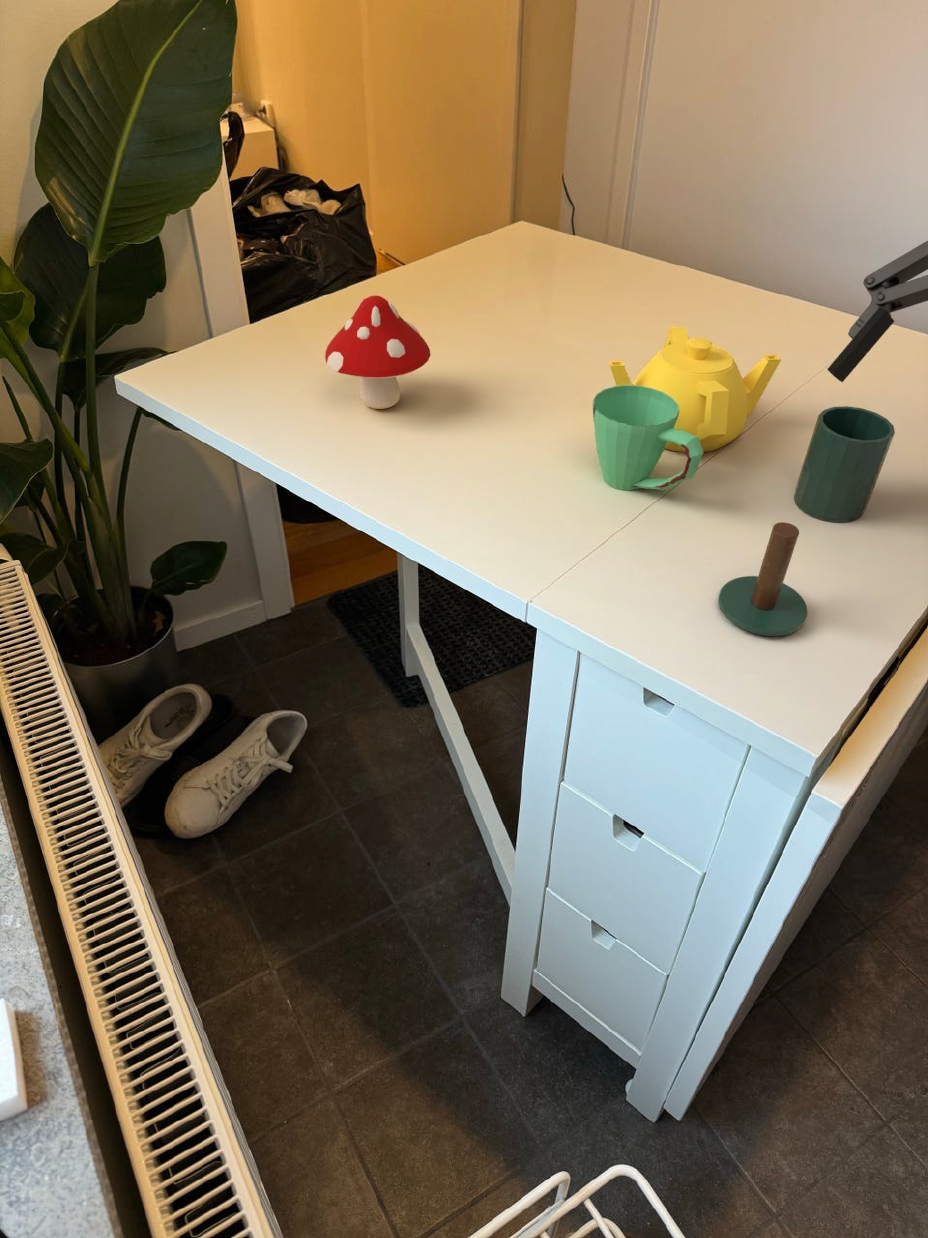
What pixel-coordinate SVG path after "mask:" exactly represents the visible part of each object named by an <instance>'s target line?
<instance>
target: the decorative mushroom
mask: <svg viewBox="0 0 928 1238" xmlns="http://www.w3.org/2000/svg"><path fill="white" fill-rule="evenodd" d="M324 353H325V355H324V359H325V360H324V361H325V364H326V366H327V368H328V369H329V370H330V371H333V372H335V373H339V374H342V375H347V376H352V377H356V378H361V383H360V386H359V398H360V399H359V400H360V402H361V403H363V404H364V405H365V406H367V407H369V408H372V409H377V410H383V409H389V408H391V407H393V406H395V405H396V404H397V403H398V402H399V401H400V399H401V389H400V385H399V382H398V379H397V377H401V376H404V375H408V374H410V373H413V372H415V371H416V370H418V369H420V368H422V367H423V366H424V365H426V363H428V361H429V359H430V358H431V349H430V347H429V345H428V343H427V342H426V340H425V339H424V338H423V337H422V336H421V334H420V332H419V330H418V329H417V327H415V325H413V324H412V323H411V322H409V321H407V320H404V318H403V317H402V316H401V315H400V313H399V311H398V309H397V308H396V306H394V304H393V303H391V302H389V300H387V299H386V298H385V297H383V296H381V295H370V296H368V297H366V298H364V299H362V301H361V302H360V303H359V305H357V308H356V309H355V311H354V313H353V315H352V316H351V318H350V319H348V320H347V321H346V322H345V324H344V325H343V327H342V328H341V329H339V330H338V332H337V333H336V334H335V335H334V337H333V338H332V339H331V340H330V342H329V344H328V345H327V346H326V350H325V352H324Z"/></svg>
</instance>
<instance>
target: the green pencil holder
mask: <svg viewBox="0 0 928 1238" xmlns="http://www.w3.org/2000/svg"><path fill="white" fill-rule="evenodd" d="M895 431H896V430H895V425H893V424H892V422H891V421H890V420H889V419H888V418H887V417H884V416H883V415H881V414H879V413H877V412H875V411H872V410H868V409H866V408H861V407H856V406H848V405H845V406H844V405H843V406H832V407H829V408H826V409H825V408H824V409H823V410H822V411H821V412H820V413H819V414H818V415H817V418H816V422H815V424H814V428H813V432H812V434H811V438H810V441H809V444H808V447H807V451H806V454H805V457H804V460H803V463H802V467H801V470H800V473H799V475H798V479H797V481H796V482H797V483H796V486H795V489H794V495H793V500H794V503H795V505H796V506H797V507H798V509H799V510H801V511H802V512H803V513H805V514H806V515H808V516H810V517H812V518H815V519H817V520H819V521H823V522H829V523H834V524H835V523H838V524H844V523H851V522H854V521H857V520H859V519H861V518H862V516H863V515H865V511H866V510H867V508H868V506H869V502H870V500H871V497H872V495H873V492H874V489H875V487H876V484H877V482H878V481H877V480H878V479H879V476H880V473H881V471H882V468H883V465H884V463H885V460H886V458H887V455H888V453H889V449H890V447H891V444H892V442H893V439H894V436H895V433H896V432H895Z"/></svg>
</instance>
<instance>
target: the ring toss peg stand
mask: <svg viewBox="0 0 928 1238" xmlns="http://www.w3.org/2000/svg"><path fill="white" fill-rule="evenodd" d="M799 535H800V529H799V528H798V527H797V526H796V525H794V524H792V523H789V522H785V521H784V522H783V521H782V522H777V523H775V524H774V525H772V529H771V532H770V536H769V539H768V542H767V545H766V548H765V551H764V552H765V553H764V556H763V559H762V562H761V566H760V569H759V571H758V575H747V576H746V575H745V576H740V577H735V578H733V579H731V580H729V581H728V582H726V583H725V584H724V585H723V586H722V588H721V589H720V591H719V595H718V599H717V600H718V606H719V609H720V611H721V613H722V614H723V615H724V616H725V618H726V619H727V620H728V621H729V622H731V623H732V624H734V625H735V626H737V627H739V628H740V629H742V630H745V631H747V632H750V633H753V634H757V635H761V636H769V637H770V636H771V637H779V636H785V635H790V634H793V633H794V632H797V631H798V630H799V629H800V628H801V627H803V625H804V624H805V622H806V619H807V617H808V606H807V603H806V600H805V599H804V598H803V597H802V595H801V594H800V593H799V592H798V591H796V590H795V589H794V588H792V587H791V586H789V585H788V584H786V583H784V581H785V578H786V575H787V572H788V569H789V566H790V563H791V560H792V557H793V553H794V551H795V547H796V545H797V541H798V539H799Z"/></svg>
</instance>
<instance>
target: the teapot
mask: <svg viewBox="0 0 928 1238" xmlns="http://www.w3.org/2000/svg"><path fill="white" fill-rule="evenodd" d="M781 361H782V358H780V357H779V356H778V355H777V354H763V357H762V358H761V359H760V360H759V361H758V362H757V363H756V364H755V365H754V366H753V368H751V370H750V371H749V372H748V373H747V374H746V375H745V376H744V377H743V376H742V374H741V371H740V369H739V367H738V364H737V363H736V361H735V359H734V357H733V356H732V354H731V353H729V352H728V351H727V350H725V349H723V348H722V347H720V346H717V345H714V344H713V342H712V341H711V340H709V339H706V338H703V337H691V338H690V337H689V334H688V330H687V328H686V326H669V328H668V331H667V335H666V338H665V341H664V345H663V348H661V349H660V350H659V351H658V352H656V354H655V355H654V356H652V357H651V359H650V360H649V362H647V364H645V366H644V367H643V368H642V369H641V371H640V372H639V373H638V375H637V376H636V378H635V380H634V381H633V383H632V380H631V378H630V376H629V374H628V372H627V370H626V365H625V363H624V361H623V360H610V361H609V362H608V365H609V367H610V371H611V374H612V377H613V380H614V383H615V386H622V385H635V386H644V387H649V388H653V389H656V390H659V391H661V392H664V393H665V394H667V395H669V396H670V397H672V398H673V399H674V400H675V401H676V402H677V404H678V406H679V416H678V419H677V421H676V423H675V426H674V429H678V430H682V431H685V432H688V433H690V434H692V435H694V436H696V437H698V438H699V441H700V444H701V446H702V449H703V452H704V453H705V452H706V453H707V452H711V451H715V450H717V449H720V448H722V447H724V446H725V445H727V444H729V443H731V442H732V441H733V440H735V439H736V438H737V437H739V436H740V435H741V434H742V432H743V431H744V429H745V427H746V426H747V425H746V424H747V420H748V415H749V416H750V415H751V414H753V412H754V410H755V408H756V406H757V405H758V403H759V401H760V400H761V398H762V396H763V394H764V392H765V391H766V388H767V386H768V384H769V383H770V381H771V379H772V377H773V376H774V374H775V372H776V370H777V368H778V366H779V365H780V363H781ZM664 450H667V451H672V452H680V453H686V450H685V449H684V448H682V447H680V446H679V445H677V444H675V443H671V442H667V443H666V446H665V448H664Z"/></svg>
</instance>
